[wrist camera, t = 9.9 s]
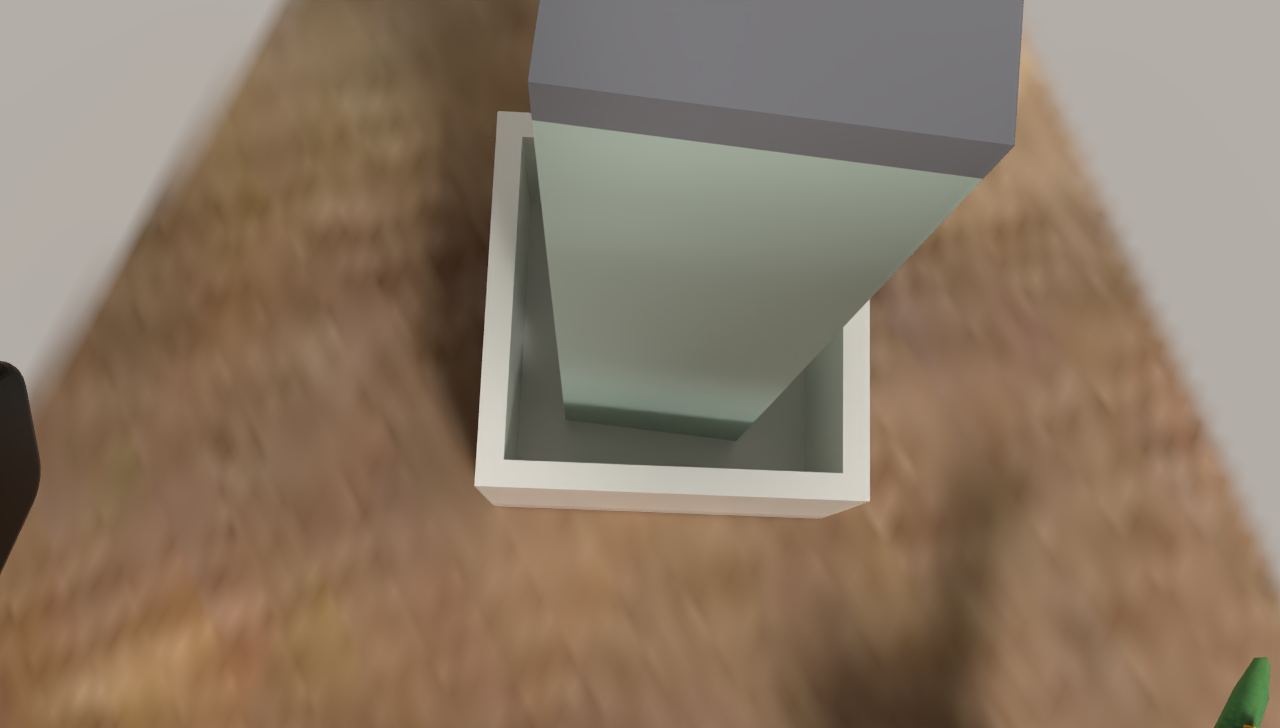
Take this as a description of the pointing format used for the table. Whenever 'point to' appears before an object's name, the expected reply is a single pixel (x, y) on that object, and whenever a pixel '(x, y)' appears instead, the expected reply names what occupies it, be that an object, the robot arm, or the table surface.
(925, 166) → the sage bracket post
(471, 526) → the table surface
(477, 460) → the ceramic well
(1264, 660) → the figurine
